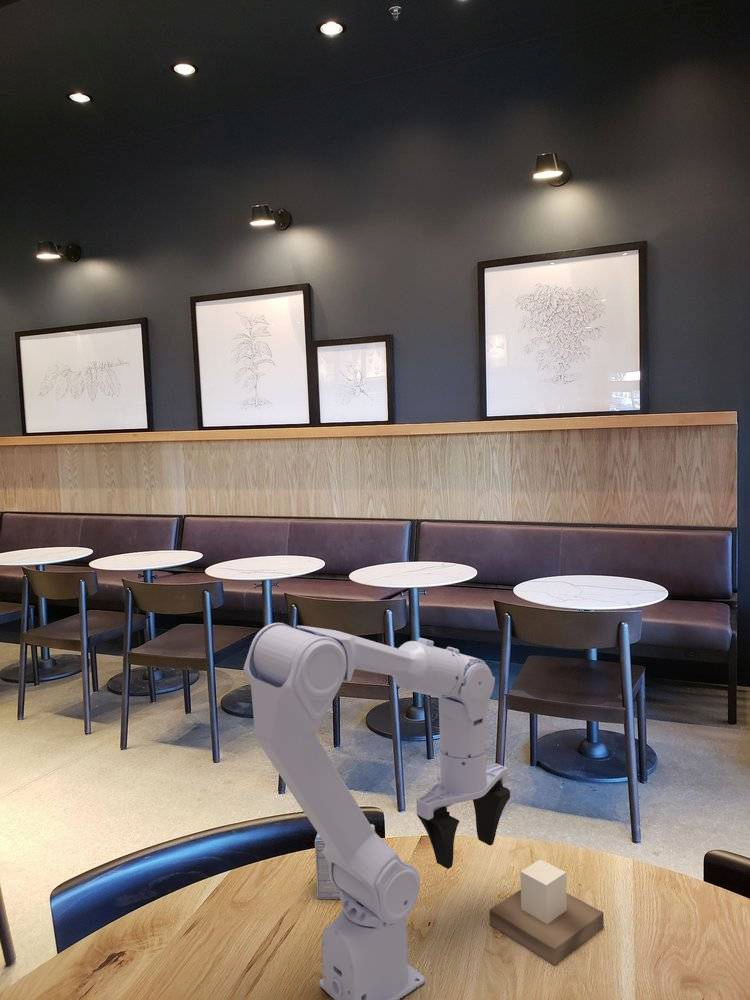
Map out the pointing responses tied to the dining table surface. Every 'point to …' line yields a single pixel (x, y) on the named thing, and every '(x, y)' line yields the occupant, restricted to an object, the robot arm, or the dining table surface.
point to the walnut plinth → (548, 927)
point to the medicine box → (325, 872)
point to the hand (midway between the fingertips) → (465, 853)
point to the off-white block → (543, 891)
